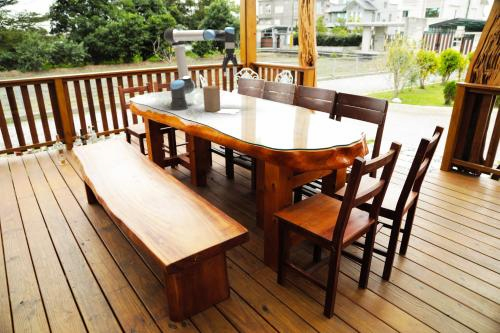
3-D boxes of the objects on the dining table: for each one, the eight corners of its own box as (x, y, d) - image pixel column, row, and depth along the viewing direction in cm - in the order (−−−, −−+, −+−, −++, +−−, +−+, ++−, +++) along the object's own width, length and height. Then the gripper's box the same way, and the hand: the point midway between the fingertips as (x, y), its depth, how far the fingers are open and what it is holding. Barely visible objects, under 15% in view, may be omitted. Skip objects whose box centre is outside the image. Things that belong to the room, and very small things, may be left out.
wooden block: (212, 112, 267) (211, 87, 260) (204, 111, 273) (202, 86, 265) (220, 110, 275) (219, 86, 267) (212, 109, 280) (211, 85, 273)
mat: (215, 112, 266) (215, 112, 266) (222, 109, 278) (222, 108, 278) (234, 113, 261) (234, 113, 261) (240, 110, 273) (240, 109, 273)
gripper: (224, 48, 251) (225, 77, 259) (242, 47, 271) (242, 74, 279) (216, 48, 254) (217, 76, 262) (234, 47, 274) (234, 73, 282)
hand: (230, 75), depth 271 cm, fingers open, 13 cm apart
